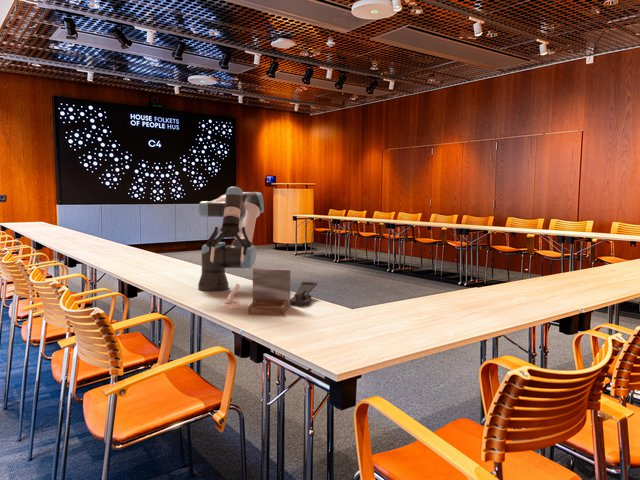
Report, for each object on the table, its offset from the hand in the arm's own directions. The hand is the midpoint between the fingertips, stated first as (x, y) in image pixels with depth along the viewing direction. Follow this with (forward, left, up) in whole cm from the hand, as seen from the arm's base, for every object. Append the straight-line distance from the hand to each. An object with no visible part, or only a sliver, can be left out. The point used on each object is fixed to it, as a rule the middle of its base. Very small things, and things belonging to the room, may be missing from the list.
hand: (226, 261), depth 212 cm
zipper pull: (-8, +34, -18) cm, 39 cm away
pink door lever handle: (+8, +4, -18) cm, 21 cm away
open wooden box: (+13, +21, -18) cm, 31 cm away
